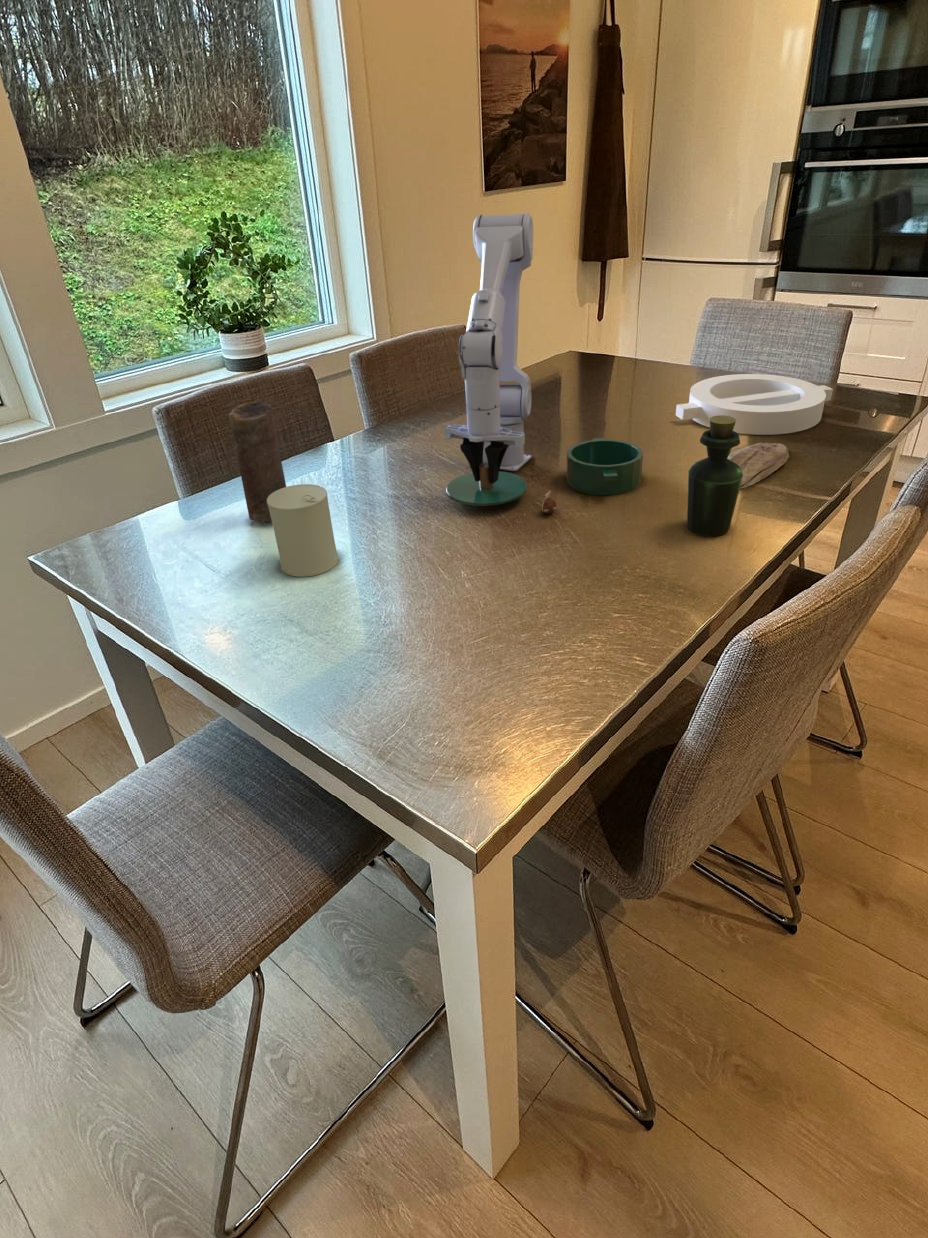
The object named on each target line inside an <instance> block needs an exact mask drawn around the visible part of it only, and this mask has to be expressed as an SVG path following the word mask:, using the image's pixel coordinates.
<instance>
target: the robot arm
mask: <svg viewBox="0 0 928 1238" xmlns="http://www.w3.org/2000/svg"><path fill="white" fill-rule="evenodd" d="M472 225H473V227H472V241H473V247H474V250H475V252H476V254H477V258H478V260H479V262H480V265H481V266H480V267H481V270H480V281H479V282H480V283H479V290H478V291H476V292H475V293H474V294H473V295H472V296H471V301H470V306H469V313H468V319H467V322H466V323H467V324H466V329H465V333H464V334H461V335H460V337H459V340H458V362H459V366H460V370H461V377H462V380H463V381H464V388H465V389H464V390H465V407H466V409H465V410H466V424H449V425H447V426H446V427H445V428H444V434H445V436H444V437H445V439H446V440H452V439H459V440H462V443H461V444H460V445H459V448H460V451H461V452H462V454H463V455H464V457H465V458H466V460H467V462H468V464H469V467H470V470H471V473H473V476H474V479H475V481H479V480H480V479H479V465H480V464H482V463H488V467H489V482H490V483H491V484H494V483H495V482H496V481H497V480H498V475H499V471H500V470H502V471H508V472H517V471H518V470H520V469H521V468H522V467H523V466H524V465H525V464H526V463H528V462H529V461H530V460H531V459H532V455H531V454H525V444H526V434H525V433H526V432H524V431H525V430H524V419H527V418H528V417H529V416H530V414H531V410H532V409H531V408H532V397H533V396H532V387H531V386H532V381H531V379H530V376H529V375H528V374H527V373H526V372H524V370H522V369H521V368H520V367H519V366H518V342H519V317H520V316H519V315H520V288H521V287H520V286H521V280H522V275H523V272H524V270H526V269H528V268H530V267H531V266H532V260H533V254H534V253H533V251H534V219H533V217H532V215H531V214H530V213H529V212H524V213H509V214H508V213H507V214H490V215H489V214H485V215H483V214H478V215H476V217H475V219H474V220H473V224H472ZM500 383H517V384H500Z"/></svg>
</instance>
